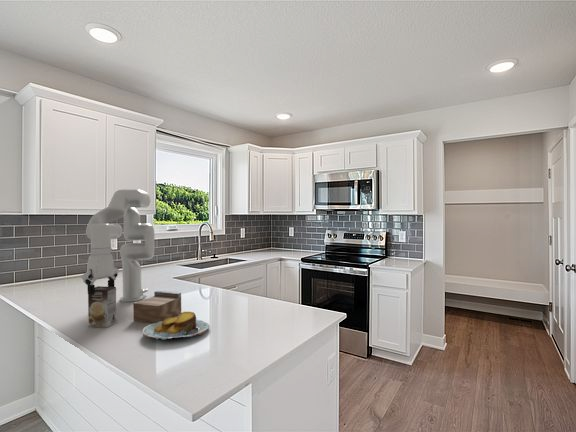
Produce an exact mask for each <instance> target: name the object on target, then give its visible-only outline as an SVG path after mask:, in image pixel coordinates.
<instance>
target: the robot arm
mask: <svg viewBox="0 0 576 432" xmlns="http://www.w3.org/2000/svg"><path fill="white" fill-rule="evenodd" d="M112 195H113V196H112V197H111V200H110V201H109V204H108V206H107V207H105V208H103V209H101V210H99V211H98V212H96V213H95V214H93V215H92V216H91V217H90V219H89V221H88V224H87V225H86V230H85V235H86V237H87V239H90V255H89V256H88V259H87V264H86V272H85V273H83V274H82V275H81V276H80V277H81V279H82V280H83V283H85V285H86V287H87V295H88V294H91V295H93V294H95V287H96V286H95V284H94V283H95V282H96V281H97V280H101V279H108V280H107V287H115V281H116V279H117V277H118V276H119V272H120V269H119V268H117V267H116V266H115V263H114V257H113V254H112V252H113V248H112V242H111V241H112V240H117V239H119V238H120V237H122V235H123V237H124V239H125V240H126V241H133V242H129V243H124V244H123V245H121V247H120V249H119V254H120V259H121V267H122V270H121V271H122V272H121V273H122V296H121V297H119V302H122V303H130V302H132V303H133V302H139V301H141V300H144V299H146V298H145V297H146V296H145V295H144V293H148V292H149V291H148V290H149V289H148V288H144V289H143V288H142V285H143V284H142V267H141V266H142V265H141V264H140V263H139V261H143V260H151V259H153V258H154V256H155V228H154V225H152V224H151V223H141V214H140V212H139V211H138V210H137V208H138V209H139V208H142V209H143V208H148V207H149V206H150V204H151V197H150V194H149V192H146V191H144V190H142V189H133V188H132V189H128V188H127V189H126V188H125V189H117V190H116V191H115V192H114V193H113V194H112ZM122 218H123V226H122V225H121V224H119V223H117V222H113V221H118V220H120V219H122ZM134 241H135V242H134ZM137 241H144V242H137Z"/></svg>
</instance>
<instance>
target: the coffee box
mask: <svg viewBox="0 0 576 432" xmlns="http://www.w3.org/2000/svg"><path fill="white" fill-rule="evenodd" d="M87 301H88V303H87V305H88V306H87V307H88V308H87V309H88V310H87V311H88V312H87V313H88V315H87V316H88V318H87V319H88V327H89V328H110V327H111V326H112V325H115V324H117V287H116V286H114V287H108V286H99V285H98V286H95V294H93V295H91V294H88V293H87Z"/></svg>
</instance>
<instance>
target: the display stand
mask: <svg viewBox="0 0 576 432" xmlns="http://www.w3.org/2000/svg"><path fill="white" fill-rule="evenodd" d="M132 303H133V302H132ZM132 306H133V307H132V308H133V310H132V311H133V322H135V323H137V322H139V323H144V324H145V323H146V324H153V323H158V322H160V321H164V320H165V319H168V318H172V317H177V316H180V315H181V313H182V293H181V292H177V291H176V292H174V291H164V290H163V291H161V290H155V291H154V295H153V296H151V297H148V298H144V299H142V300H138V301H135V302H134V303H133V304H132Z"/></svg>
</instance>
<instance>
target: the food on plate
mask: <svg viewBox="0 0 576 432" xmlns="http://www.w3.org/2000/svg"><path fill="white" fill-rule="evenodd" d="M209 328H210V324H209V323H207V322H206V321H204V320H200V319H197V315H196V314H195V312H193V311H182V312H181V314H180V315H178V316H175V317H172V318H168V319H165V320H164V321H160V322H158V323H153V324H152V323H149V324H148V325H146V326H144V327H143V328H142V330H141V332H142V333H143V334H142V336H145V337H147V338H155V339H156V340H159V339H161V340H167V339H172V338H182V337H183V338H188V337H189V338H191V337H194V336H197V335H199V336H201V335H203V334H204V332H207V331H208V329H209Z"/></svg>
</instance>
